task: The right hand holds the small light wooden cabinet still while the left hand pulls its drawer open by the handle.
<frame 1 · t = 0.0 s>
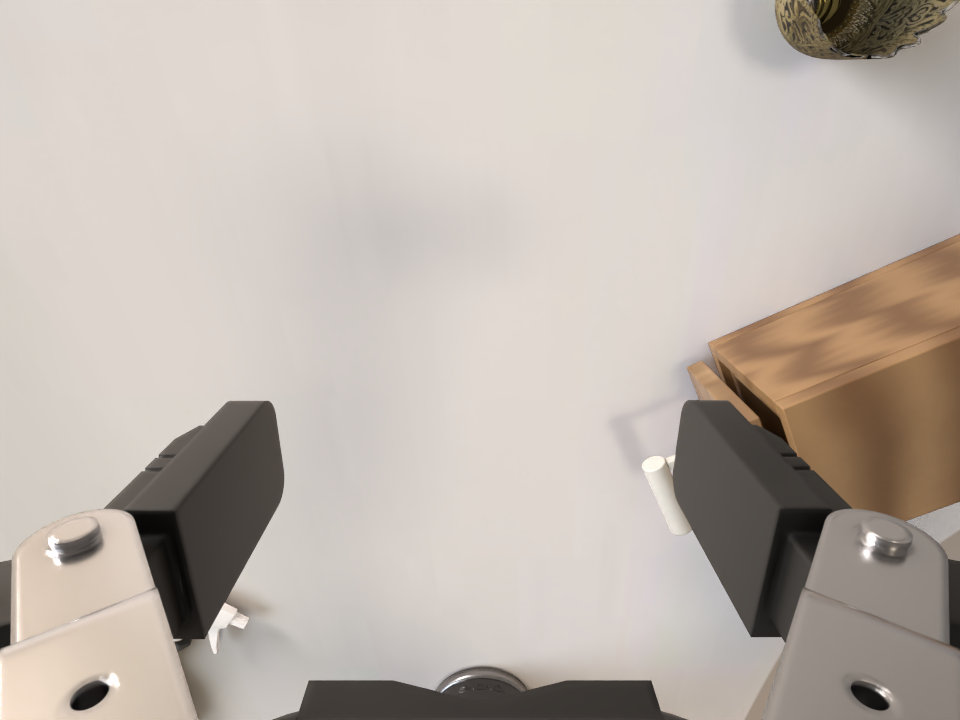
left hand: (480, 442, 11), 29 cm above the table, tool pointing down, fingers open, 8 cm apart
cabinet: (848, 352, 42), on the table
spray bottle: (154, 668, 53), on the table
drawer: (810, 417, 38), point 5 cm above the table, slide at 1.0 cm
cup: (800, 6, 34), on the table
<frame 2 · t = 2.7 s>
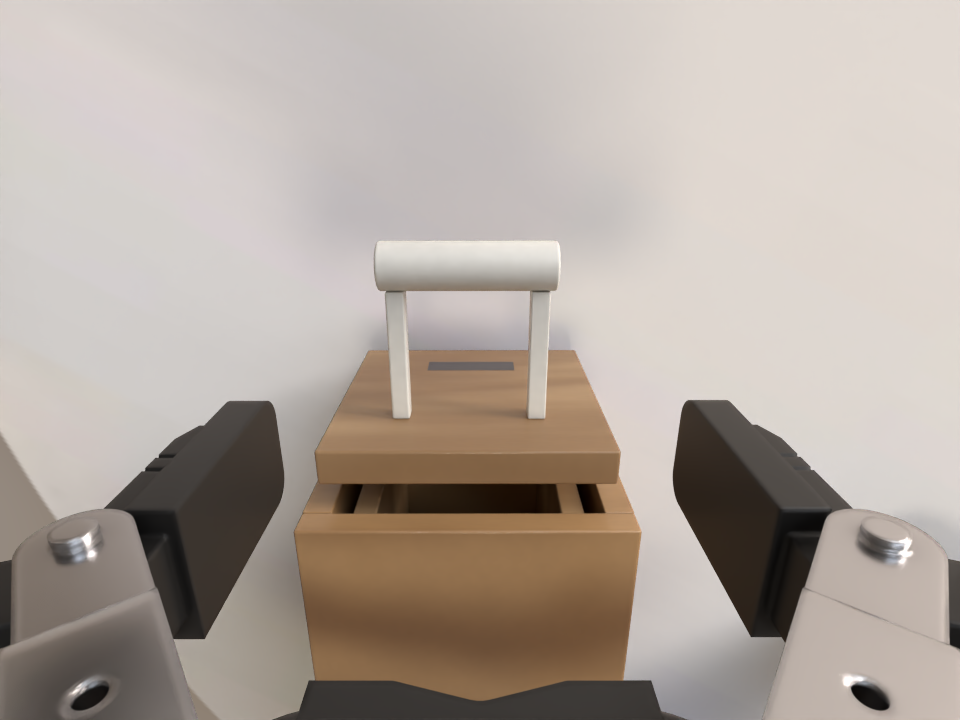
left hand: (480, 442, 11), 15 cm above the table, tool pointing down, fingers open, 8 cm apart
cabinet: (473, 538, 31), on the table
drawer: (470, 510, 23), point 6 cm above the table, slide at 1.0 cm
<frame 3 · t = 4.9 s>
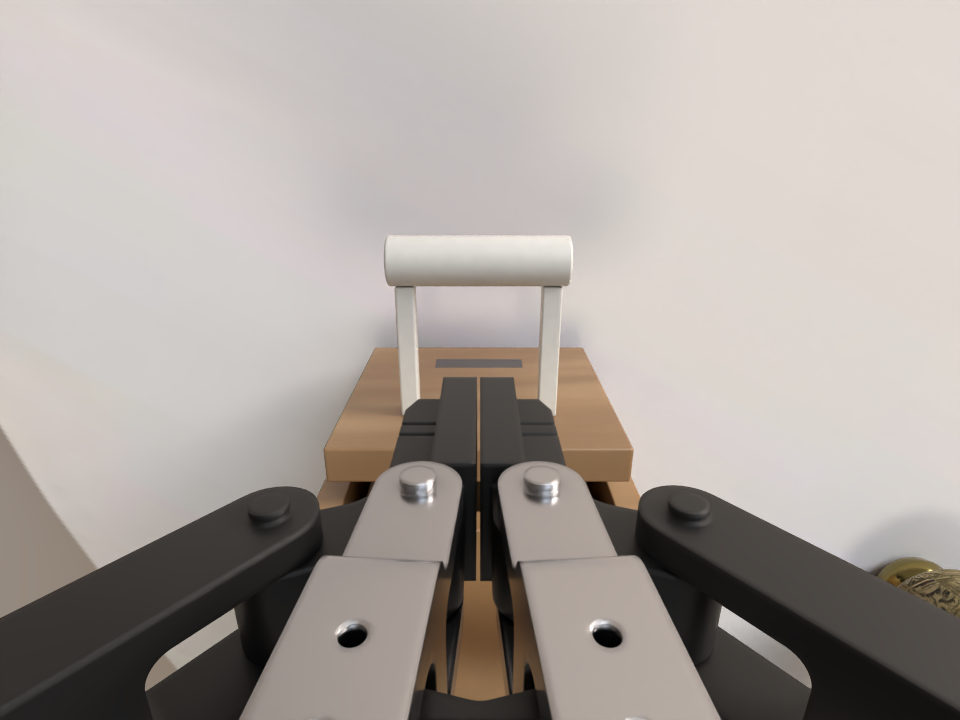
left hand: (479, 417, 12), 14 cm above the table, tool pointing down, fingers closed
cabinet: (479, 537, 30), on the table, touching right hand
drawer: (478, 509, 23), point 6 cm above the table, slide at 1.0 cm
cup: (899, 575, 31), on the table
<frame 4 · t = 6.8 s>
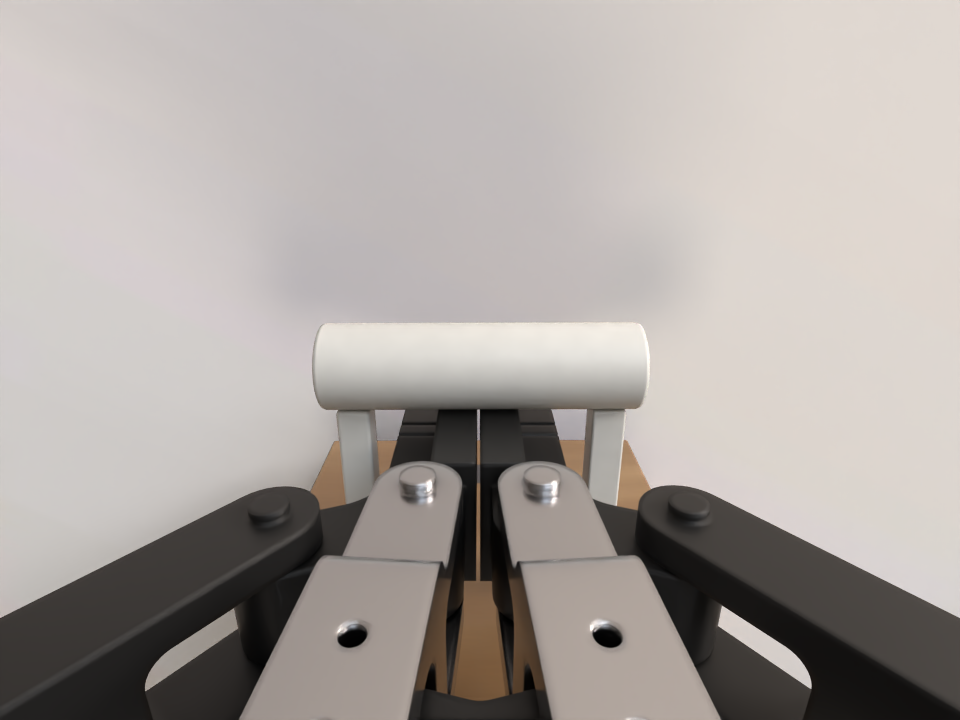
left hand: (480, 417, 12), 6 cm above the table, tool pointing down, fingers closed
drawer: (481, 689, 16), point 6 cm above the table, slide at 1.0 cm, touching left hand
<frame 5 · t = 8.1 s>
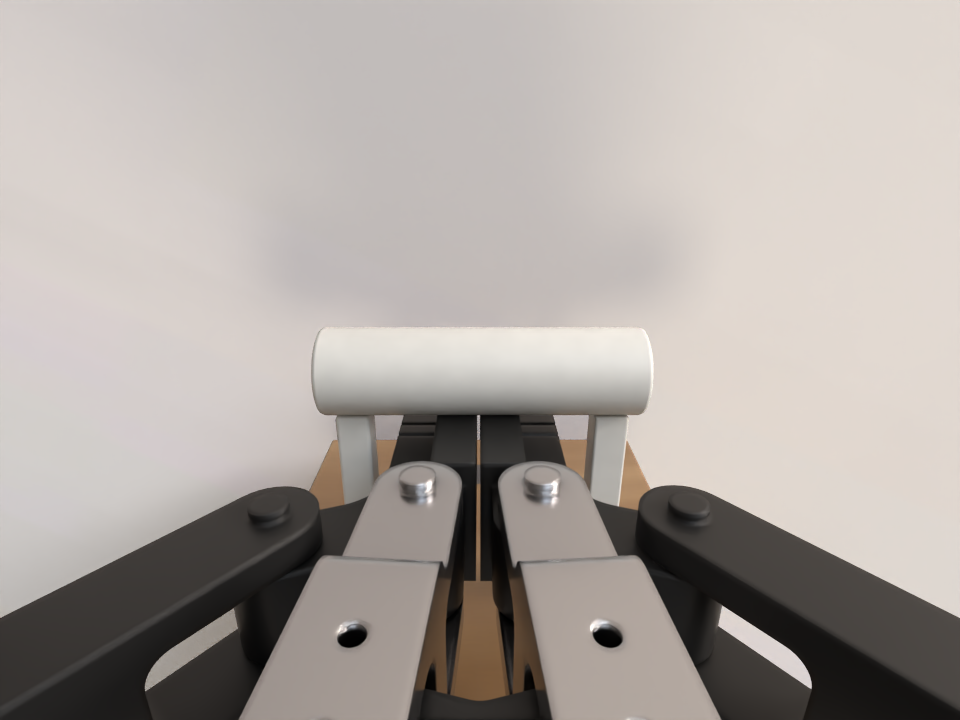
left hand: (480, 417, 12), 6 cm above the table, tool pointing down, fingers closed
drawer: (480, 689, 16), point 6 cm above the table, slide at 7.0 cm, touching left hand
when the right hand's fingers open (6 cm above the table, at t = 10.1 s): cabinet stays where it is, on the table.
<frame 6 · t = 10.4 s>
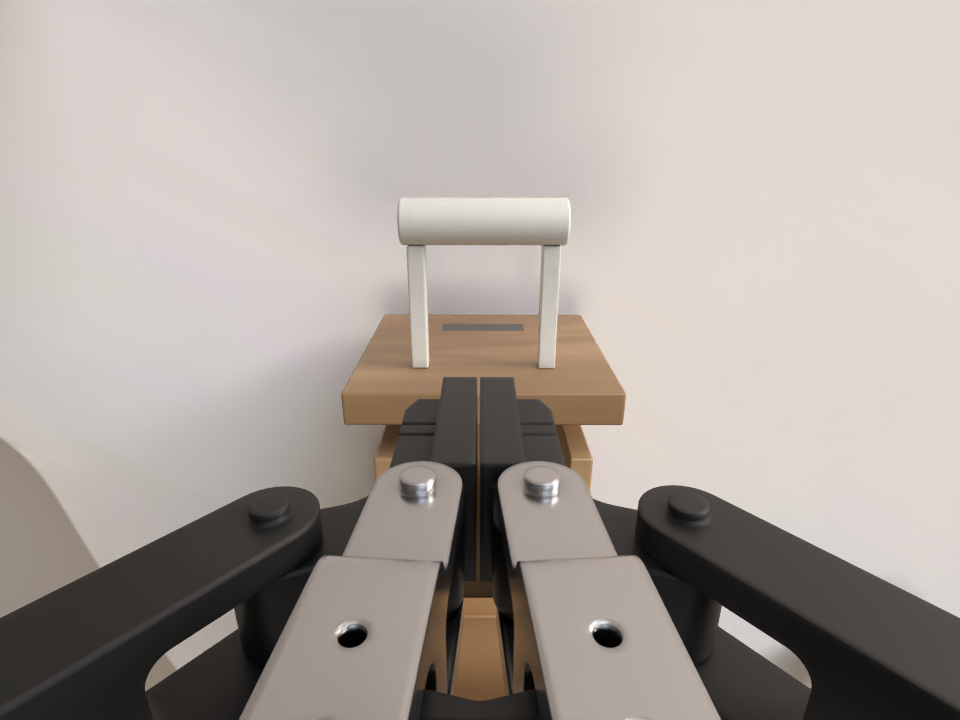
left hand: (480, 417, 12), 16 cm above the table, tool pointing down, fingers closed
cabinet: (481, 588, 34), on the table
drawer: (482, 463, 25), point 6 cm above the table, slide at 7.3 cm
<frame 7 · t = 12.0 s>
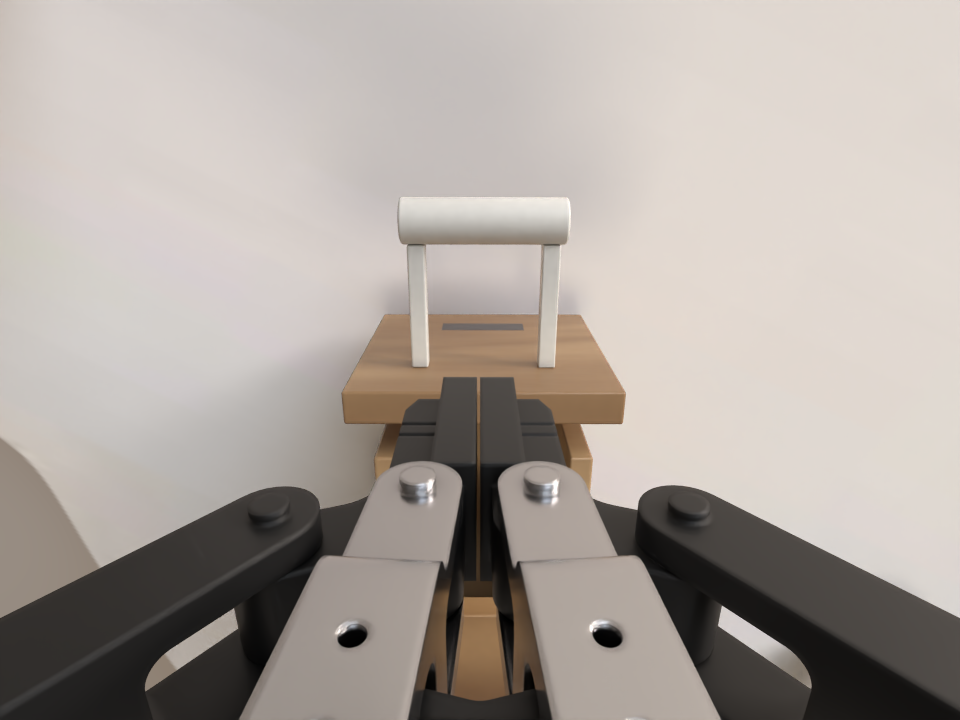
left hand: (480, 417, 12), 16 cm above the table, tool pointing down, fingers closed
cabinet: (481, 589, 34), on the table
drawer: (482, 463, 25), point 5 cm above the table, slide at 7.3 cm
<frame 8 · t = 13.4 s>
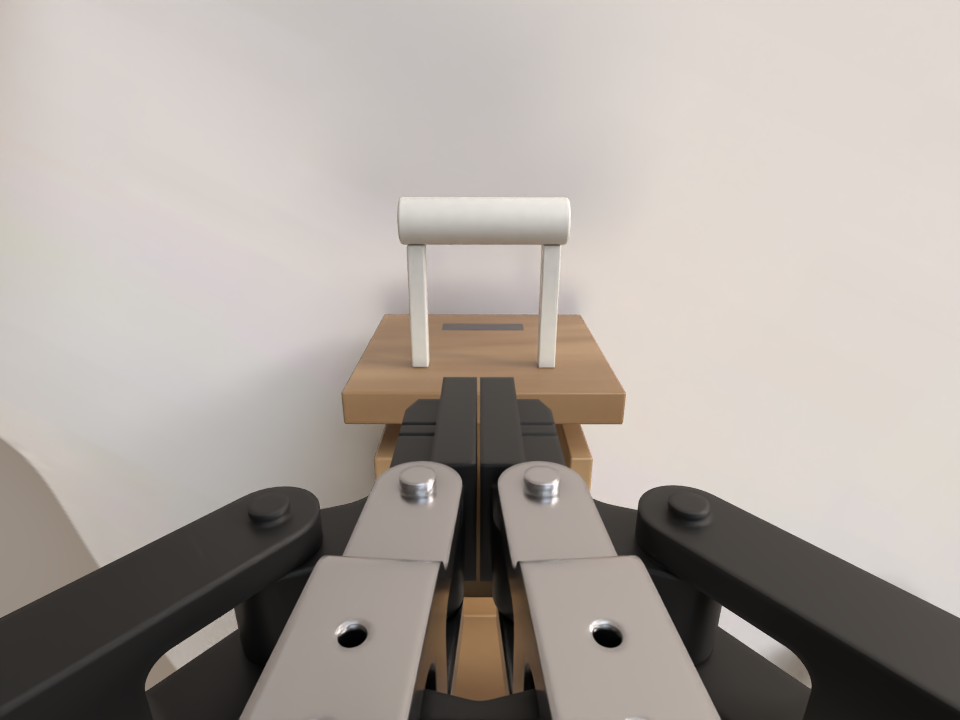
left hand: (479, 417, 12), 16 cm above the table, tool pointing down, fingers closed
cabinet: (481, 588, 34), on the table
drawer: (482, 463, 25), point 5 cm above the table, slide at 7.3 cm
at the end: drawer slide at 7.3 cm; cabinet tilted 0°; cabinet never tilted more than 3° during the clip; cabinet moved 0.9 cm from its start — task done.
